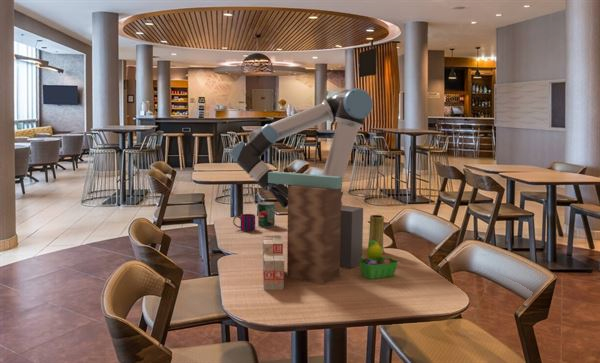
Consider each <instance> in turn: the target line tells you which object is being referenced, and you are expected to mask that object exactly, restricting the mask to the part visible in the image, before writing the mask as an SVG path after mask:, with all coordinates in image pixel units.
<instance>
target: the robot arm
mask: <svg viewBox="0 0 600 363" xmlns="http://www.w3.org/2000/svg"><path fill="white" fill-rule="evenodd" d="M373 106H374V105H373V99H372V97H371V95H370V94H369V93H368V91H365V90H364V89H361V88H355V87H354V88H350V89H344V90H342V91H341V90H340V91H339V92H337V93H335V94H334V95H332V96H330V97H328V98H325V99H323V100H322V102H321V103H320V104H317V105H314V106H313V107H309V108H306V109H305V110H302V111H299V112H297V113H294V114H292V115H290V116H287V117H284V118H281V119H279V120H277V121H274V122H272V123H266V124H265V125H264V126H262V127H259V128H254V129H253V130H251V131H250V133H249V136H248V141H247V142H244V141H239V142H238V143H237V144H235V146H234V147H232V149H231V150H230V151H229V155H230V157H231V158H232V160H234V162H236V164H237V165H238V166H239V167H241V169H243V170H244V172H246V174H248V176H249V179H253V180H254V181H255V182H257V183H256V184H257V185H258V186H259V187H261V188H262V189H263V190H264V189H266V188H267V187H268V189H267V190H268V191H269V192H270V193H271V194H272V196H273V197H274V198H275V200H276V201H277V202H278V203H279V204H280V206H281V207H282V208H285V210H287V211H288V186H286V184H276V183H268V172H274V171H273V169H270V167H269V166H268V165H267V164H266V162H264V161H263V160H262V159H261V157H262V155H264V154H265V153H266V152H267V151H268V150H269V149H270V148H271V147H272V146H273V145H274V144H276V142H278V141H280V140H282V139H285V138H287V137H290V136H292V135H295V134H297V133H300V132H302V131H305V130H307V129H310V128H313V127H316V126H317V125H320V124H322V123H325V122H327V121H329V122H335V121H336V127H335V132H334V135H333V137H332V140H331V144H330V148H329V151H328V155H327V158H326V161H325V165H324V168H323V172H322V175H326V176H339V177H342V183H343V181H344V178H345V176H346V171H347V168H348V164H349V160H350V158H351V154H352V151H353V148H354V145H355V141H356V137H357V134H358V132H359V129H360V128H362V127H364V124H365V121H366V118H367V117H368V116H369V115H370V114H371V113H372V110H373ZM343 195H344V190H343V187H342V188H341V205H342V206H343V202H342V201H343V200H342V199H343Z"/></svg>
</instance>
